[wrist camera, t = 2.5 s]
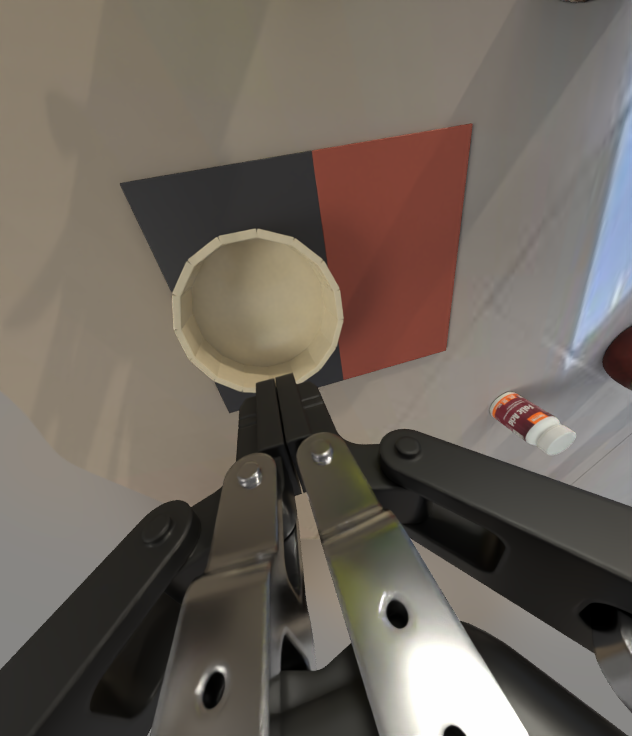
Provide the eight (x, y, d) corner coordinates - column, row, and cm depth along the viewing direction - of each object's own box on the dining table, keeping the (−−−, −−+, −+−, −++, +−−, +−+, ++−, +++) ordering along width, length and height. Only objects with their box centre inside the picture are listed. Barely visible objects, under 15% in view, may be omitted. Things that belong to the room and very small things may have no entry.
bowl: (219, 381, 24) (214, 409, 20) (158, 249, 18) (133, 253, 14) (334, 350, 25) (350, 370, 21) (314, 217, 19) (331, 213, 15)
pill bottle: (507, 386, 36) (571, 424, 28) (520, 397, 38) (584, 436, 30) (483, 410, 37) (539, 452, 30) (497, 420, 39) (553, 461, 32)
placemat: (229, 411, 26) (229, 413, 26) (121, 184, 16) (119, 183, 16) (443, 349, 29) (446, 350, 29) (468, 125, 19) (472, 123, 19)
